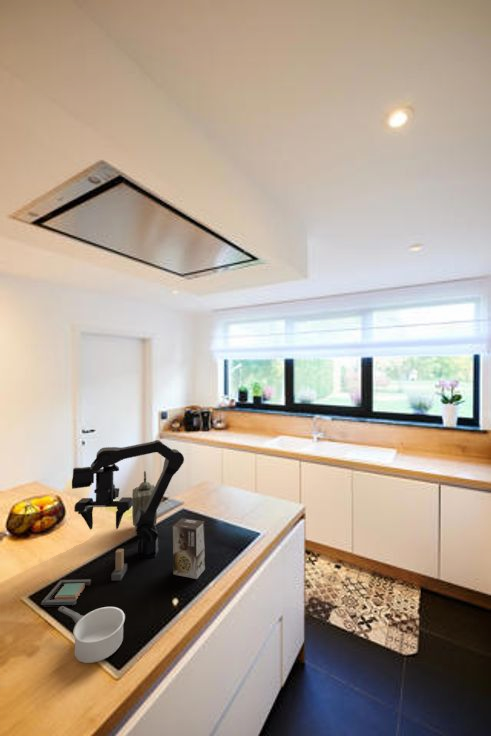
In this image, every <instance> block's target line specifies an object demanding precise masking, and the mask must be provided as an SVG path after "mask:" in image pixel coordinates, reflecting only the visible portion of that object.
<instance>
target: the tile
mask: <svg viewBox="0 0 491 736" xmlns="http://www.w3.org/2000/svg"><path fill="white" fill-rule="evenodd" d="M85 586H86V585H85V583H71V584H64V586H62V587H61V588H60V589H59V590H58V591H57V593H56V594H55V595H54V600H58V599H78V598H79V597H78V596H81V594H80V593H83V591H84V589H85Z"/></svg>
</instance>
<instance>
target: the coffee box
mask: <svg viewBox="0 0 491 736" xmlns="http://www.w3.org/2000/svg"><path fill="white" fill-rule="evenodd" d="M205 537H206V535H205V520H199V519H198V520H197V519H191V518H183V517H182V518H180V520H178V521H177V522H176V523H175V524H173V526H172V555H173V556H172V559H173V560H172V565H173V566H172V569H173V570H172V572H173V573H172V574H173V575H175V576H180V577H184V578H185V577H186V578H190V579H195V580H198V579H199V578H200V577H201V575H202V573H203V572H204V571H205V570H206V563H205V562H206V559H205V558H206V554H205V553H206V552H205V549H206V548H205V541H206V539H205Z"/></svg>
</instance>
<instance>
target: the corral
mask: <svg viewBox="0 0 491 736" xmlns="http://www.w3.org/2000/svg"><path fill="white" fill-rule="evenodd" d="M71 583H85V586H90V585H91V584H92V579H91V578H90V579H89V578H88V579H60V580H59V581H58V582H57V584H56V585H55V586H54V587H53V588H52V589H51V591H50V592H49V593H48V594H47V595H46V596H45V597H44V599H43V600H42V601H41V602H40V606H41V605H72V607H73V605H75V604H76V605H77V599H78V598H77V599H58V600H55V599H53V597H54V596H55V595H56V594H57V593H58V592H59V590H60V589H61V588H62V587H63V586H62V585H64V584H71ZM61 586H62V587H61ZM60 587H61V588H60ZM59 588H60V589H59ZM58 589H59V590H58ZM56 592H57V593H56ZM55 593H56V594H55ZM54 594H55V595H54ZM53 595H54V596H53ZM52 596H53V597H52ZM50 599H51V600H50ZM76 605H75V606H76Z"/></svg>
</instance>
